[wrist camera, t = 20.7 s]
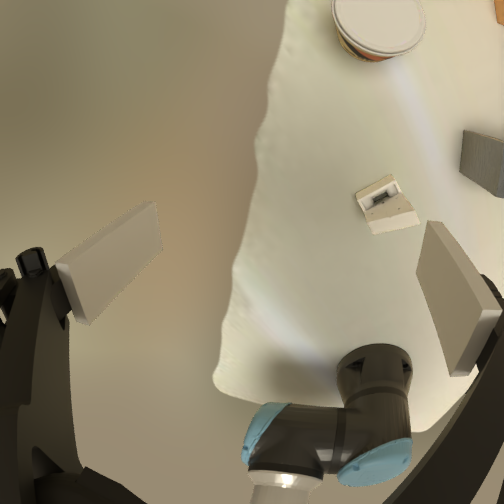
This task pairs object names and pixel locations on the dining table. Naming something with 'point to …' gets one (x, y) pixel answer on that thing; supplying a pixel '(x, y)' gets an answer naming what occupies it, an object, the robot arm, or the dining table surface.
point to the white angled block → (386, 207)
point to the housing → (483, 161)
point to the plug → (499, 11)
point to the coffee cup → (378, 27)
